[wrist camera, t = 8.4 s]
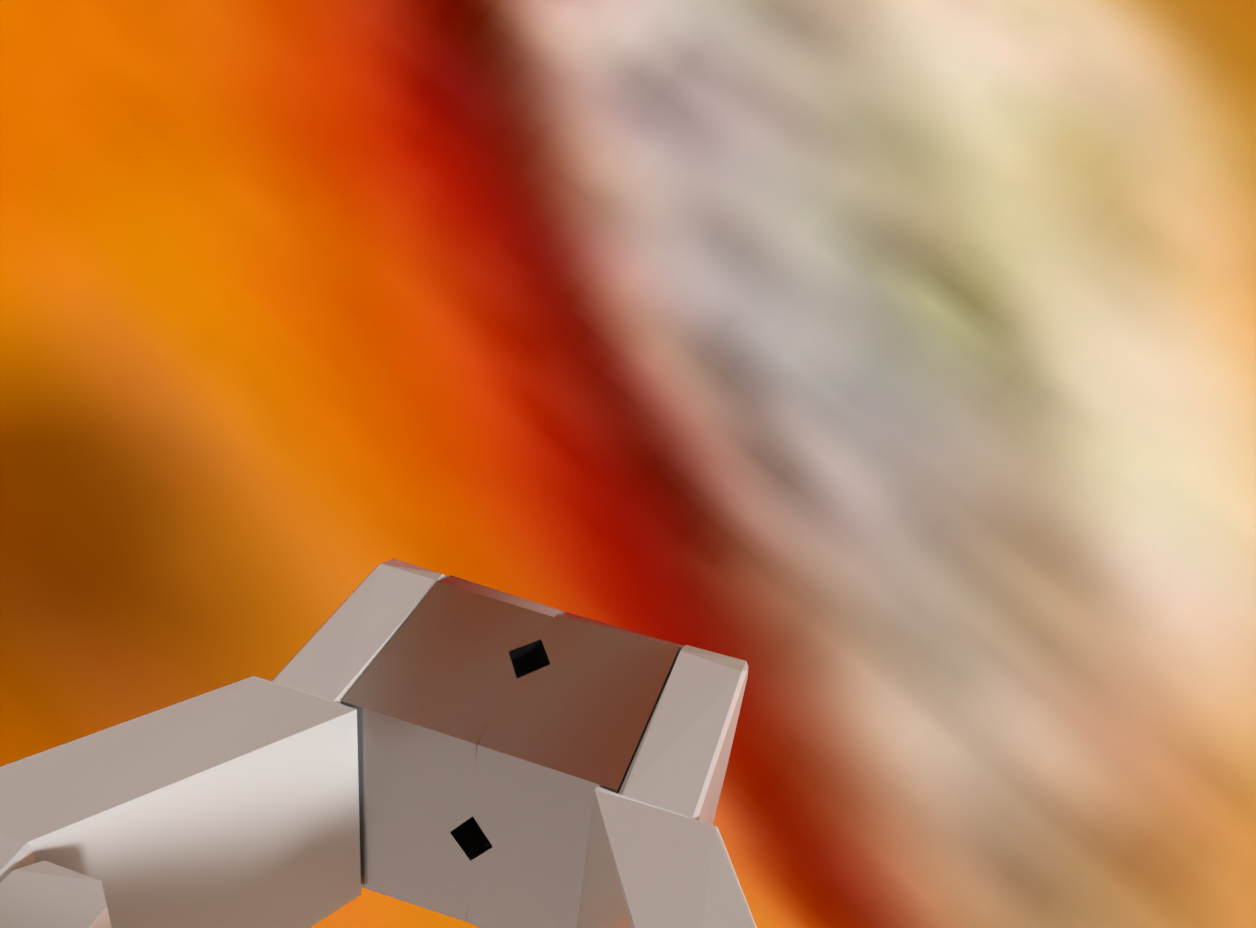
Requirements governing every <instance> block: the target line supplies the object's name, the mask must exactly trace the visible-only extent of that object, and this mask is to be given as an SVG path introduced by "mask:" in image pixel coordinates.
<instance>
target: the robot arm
mask: <svg viewBox="0 0 1256 928" xmlns="http://www.w3.org/2000/svg"><path fill="white" fill-rule="evenodd" d="M748 668H749V667H748V664H747V662H746V661H744V660H740V659H737V658H733V657H729V656H725V655H722V654H718V653H714V652H711V651H707V650H703V649H699V648H696V647H692V646H688V645H685V646H682V645H679V644H675V643H672V642H668V641H665V640H661V639H658V638H654V637H651V636H647V635H644V634H640V633H637V632H633V631H630V630H626V629H623V628H619V627H616V626H612V625H609V624H605V623H602V622H598V621H595V620H591V619H588V618H584V617H581V616H577V615H574V614H570V613H567V612H565V613H564V611H561V610H558V609H555V608H551V607H548V606H545V605H542V604H539V603H536V602H532V601H529V600H526V599H523V598H520V597H517V596H514V595H510V594H507V593H504V592H501V591H498V590H495V589H491V588H488V587H485V586H482V585H479V584H476V583H473V582H469V581H466V580H463V579H460V578H457V577H454V576H449V577H448V576H446V575H443V574H441V573H438V572H434V571H431V570H428V569H425V568H422V567H419V566H415V565H412V564H409V563H406V562H403V561H399V560H396V559H392V560H389V561H386V562H384V563H381V564H379V565H378V566H376V567H375V568H374V570H373V571H372V572H371V573H370V574H369V575H368V576H367V577H366V578H365V579H364V580H363V581H362V583H361V584H360V585H359V586H358V587H357V588H356V589H355V590H354V591H353V592H352V593H351V595H350V596H349V597H348V598H347V599H346V600H345V601H344V602H343V603H342V604H341V605H340V607H339V608H338V609H337V610H336V611H335V612H334V613H333V614H332V615H331V616H330V617H329V619H328V620H327V621H326V622H325V623H324V624H323V625H322V626H321V627H320V628H319V629H318V631H317V632H316V633H315V634H314V635H313V636H312V637H311V638H310V639H309V640H308V641H307V642H306V644H305V645H304V646H303V647H302V648H301V649H300V650H299V651H298V652H297V653H296V654H295V656H294V657H293V658H292V659H291V660H290V661H289V662H288V663H287V664H286V665H285V666H284V668H283V669H282V670H281V671H280V672H279V673H278V674H277V675H276V676H275V677H274V678H273V680H272V681H269V680H266V679H262V678H259V677H256V676H252V677H249V678H246V679H243V680H240V681H238V682H235V683H232V684H229V685H227V686H224V687H221V688H218V689H215V690H213V691H210V692H207V693H204V694H202V695H199V696H196V697H193V698H190V699H188V700H185V701H182V702H179V703H176V704H174V705H171V706H168V707H165V708H163V709H160V710H157V711H154V712H151V713H149V714H146V715H143V716H140V717H138V718H135V719H132V720H129V721H126V722H124V723H121V724H118V725H115V726H112V727H110V728H107V729H104V730H101V731H99V732H96V733H93V734H90V735H87V736H85V737H82V738H79V739H76V740H74V741H71V742H68V743H65V744H62V745H60V746H57V747H54V748H51V749H48V750H46V751H43V752H40V753H37V754H35V755H32V756H29V757H26V758H23V759H21V760H18V761H15V762H12V763H9V764H7V765H4V766H1V767H0V928H310V927H311V926H313V925H314V924H316V923H317V922H319V921H321V920H322V919H324V918H325V917H327V916H328V915H330V914H331V913H333V912H334V911H336V910H338V909H339V908H341V907H342V906H344V905H345V904H347V903H348V902H350V901H351V900H353V899H355V898H356V897H358V896H359V895H361V887H363V888H366V889H369V890H372V891H375V892H378V893H381V894H384V895H387V896H390V897H393V898H396V899H399V900H402V901H405V902H408V903H411V904H414V905H417V906H420V907H423V908H426V909H430V910H433V911H436V912H439V913H442V914H445V915H448V916H451V917H454V918H457V919H460V920H463V921H466V922H467V921H468V923H471V924H474V925H476V926H479V927H481V928H757V926H756V924H755V921H754V919H753V916H752V914H751V911H750V908H749V906H748V903H747V901H746V898H745V896H744V893H743V890H742V888H741V885H740V883H739V880H738V878H737V875H736V872H735V870H734V867H733V865H732V862H731V860H730V857H729V854H728V852H727V849H726V847H725V844H724V842H723V839H722V836H721V834H720V831H719V829H718V827H717V826H714V825H713V821H714V817H715V813H716V809H717V805H718V801H719V797H720V793H721V789H722V785H723V781H724V777H725V773H726V769H727V765H728V760H729V756H730V751H731V747H732V743H733V738H734V734H735V730H736V725H737V721H738V716H739V712H740V708H741V703H742V699H743V695H744V690H745V686H746V681H747V675H748Z"/></svg>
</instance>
